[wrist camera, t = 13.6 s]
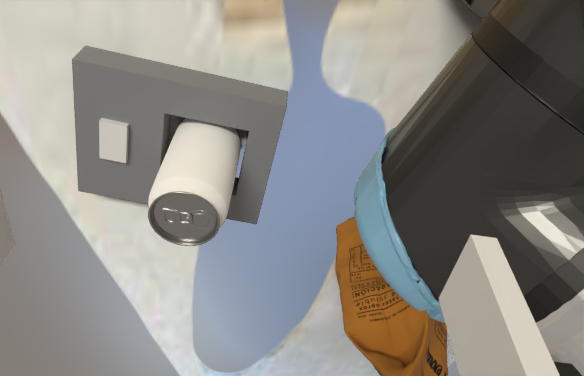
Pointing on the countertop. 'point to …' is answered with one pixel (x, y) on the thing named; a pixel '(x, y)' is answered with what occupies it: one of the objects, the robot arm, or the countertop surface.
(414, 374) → the coffee package
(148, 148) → the socket plate
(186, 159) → the can
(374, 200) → the robot arm
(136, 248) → the countertop surface
